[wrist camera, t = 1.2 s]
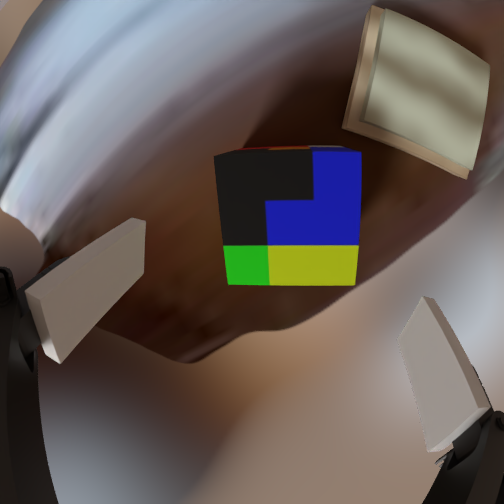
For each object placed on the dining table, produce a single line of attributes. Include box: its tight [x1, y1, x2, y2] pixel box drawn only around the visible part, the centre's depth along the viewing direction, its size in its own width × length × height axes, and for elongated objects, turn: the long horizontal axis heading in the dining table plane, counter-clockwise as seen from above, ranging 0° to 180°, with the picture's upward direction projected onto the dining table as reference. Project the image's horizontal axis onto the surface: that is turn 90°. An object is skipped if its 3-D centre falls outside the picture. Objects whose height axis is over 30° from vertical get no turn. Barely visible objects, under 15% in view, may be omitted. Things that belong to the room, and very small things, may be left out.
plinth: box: [341, 5, 490, 179], centre depth 19 cm, size 14×14×5 cm
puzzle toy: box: [214, 146, 362, 285], centre depth 24 cm, size 10×10×10 cm
